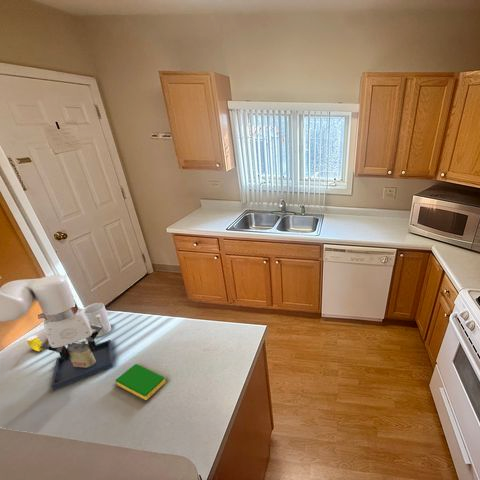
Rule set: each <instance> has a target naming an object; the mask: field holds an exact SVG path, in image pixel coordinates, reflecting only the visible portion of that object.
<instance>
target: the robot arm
mask: <svg viewBox="0 0 480 480" xmlns="http://www.w3.org/2000/svg"><path fill="white" fill-rule="evenodd" d="M70 287H71V286H70V284H69V282H68V280H67V278H66V277H65V276H64V275H60V274H51V275H47V276H46V275H45V276H43V277H40V278H39V277H38V278H28V279H27V278H25V279H16V280H12V281H11V280H10V281H8V282H5V283H4V284H3V285H2V286H0V322H12V321H16V320H19V319H21V318H22V317H24V316H26V314H28V312H29V310H30V308H31V307H32V304H33V302H37V303H38V305H39V307H40V309H41V311H42V313H39V314H37V318H38V320H40V319H44V320H43V327H44V332H45V335H46V338H45V339H44V340H43V342H42V344H41V346H40V348H41V349H43V350H48V351H52V352H56V353H57V354H59V355H60V356H59V357H61V358H64V359H65V361H66V360H68V357H69V355H68V353H67V349H66V348H67V346H68V344H72V343H78V342H81V341H84V340H86V341H87V344H88V345H89V347H90V349H91V351H94V347H95V346H96V344H97V343H96V341H95V339H96V338H97V337H96V336H97V335H98V333H99V332H100V331H101V330H102V326H101V325H97V324H93V323H90V321H89V319H88V318H87V316H86V314H85V313H84V312H83V309H82V308H81V307H79V306H78V305H77V304H78V303H77V302H76V300H75V297H74V294H73V292H72V289H71V288H70ZM92 329H95V331H94V332H93V333H92Z"/></svg>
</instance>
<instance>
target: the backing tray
mask: <svg viewBox="0 0 480 480" xmlns="http://www.w3.org/2000/svg"><path fill="white" fill-rule="evenodd" d="M92 353H93V356H94V358H95V360H96V362H95V364H94V365H92V366H90V367H87V368H84V367H74V366H73V363H72V361H71V359H70V357H68V360H66V361H65V359H64V358H61V356H59V357H56V359H55V360H56V361H55V364H54V369H53V370H54V371H53V375H52V380H51V381H52V382H51V387H52V389H53V391H55V390H58V389H60V388H62V387H66V386H68V385H70V384H73V383H76V382H78V381H80V380H83V379H85V378H88V377H91V376H93V375H95V374H99V373H101V372H103V371H106V370H108V369H111V368H113V366H114V362H113V343H112V340H111V339H108V340H105V341H103V342H99V343H96V346H95V347H94V351H92Z"/></svg>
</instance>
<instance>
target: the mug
mask: <svg viewBox="0 0 480 480" xmlns="http://www.w3.org/2000/svg"><path fill="white" fill-rule="evenodd" d="M82 310H83V312H84V313H85V314H86V316H87V318H88V319H89V321H90V323H93V324H97V325H101V326H102V330H101V331H100V332H99V333H98V335H97V336H96V337H95V338H99V337H102V336H105V335H107V334H108V333H110V332H111V330H112V326H111V322H110V319H109V316H108V312H107V309H106V306H105V304H104V303H103V302H96V303H91V304H89V305H86V306H85V307H84V308H83V309H82ZM94 331H95V329H92V333H93V332H94Z"/></svg>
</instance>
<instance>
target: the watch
mask: <svg viewBox="0 0 480 480" xmlns="http://www.w3.org/2000/svg"><path fill="white" fill-rule="evenodd" d="M26 342H27V344H28V346H29V347H30V348H31V349H32V350H33V351H36V352H41V351H43V350H44V349H41V348H40V346H41V344H42V343H43V342H42V341H41V340H40V339H39V336H38V335H37V334H33V335H31V336H29V337H27V338H26Z"/></svg>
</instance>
